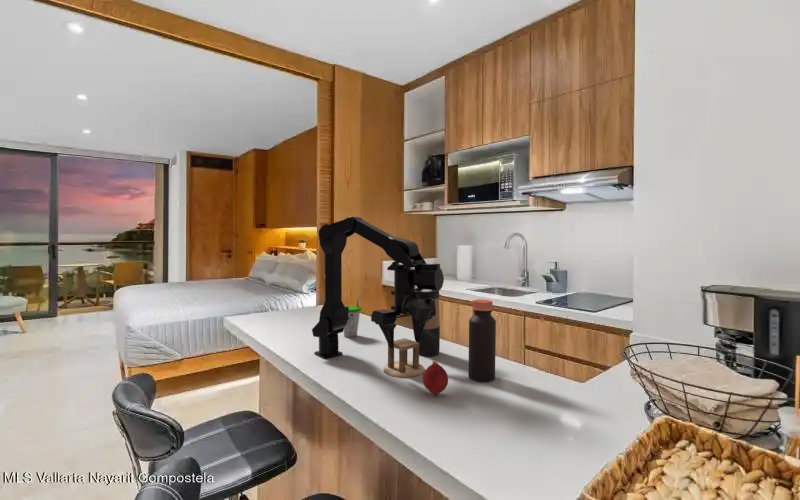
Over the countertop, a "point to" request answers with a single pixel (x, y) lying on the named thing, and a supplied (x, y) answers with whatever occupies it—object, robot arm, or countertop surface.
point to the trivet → (409, 372)
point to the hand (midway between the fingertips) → (404, 344)
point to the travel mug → (430, 326)
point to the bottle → (482, 342)
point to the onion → (435, 378)
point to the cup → (352, 321)
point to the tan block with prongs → (404, 354)
